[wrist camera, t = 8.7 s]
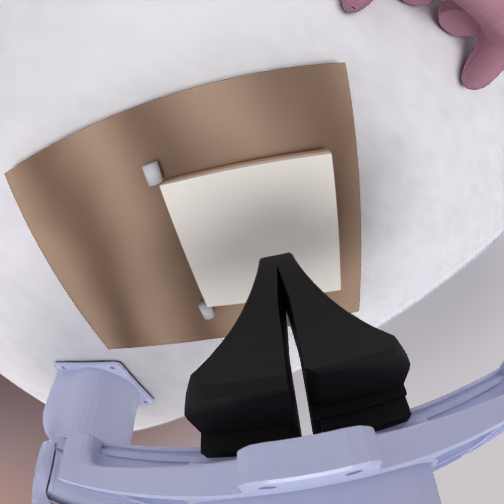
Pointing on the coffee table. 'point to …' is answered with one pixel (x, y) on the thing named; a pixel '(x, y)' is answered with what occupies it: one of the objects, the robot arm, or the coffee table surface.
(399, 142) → the coffee table surface
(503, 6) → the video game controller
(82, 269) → the board
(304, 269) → the hinged panel
